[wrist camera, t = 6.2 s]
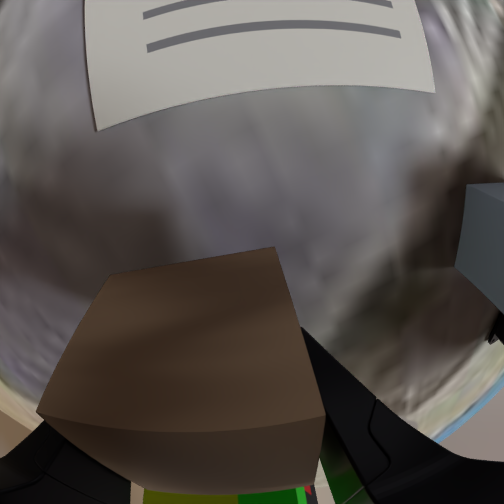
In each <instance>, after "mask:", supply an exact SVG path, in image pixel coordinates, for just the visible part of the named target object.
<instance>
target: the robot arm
mask: <svg viewBox="0 0 504 504" xmlns="http://www.w3.org/2000/svg"><path fill="white" fill-rule="evenodd" d="M300 328H301V332H302V335H303V338H304V341H305V345H306V348H307V351H308V355H309V358H310V362H311V365H312V368H313V372H314V375H315V379H316V382H317V385H318V389H319V392H320V396H321V399H322V403H323V407H324V410H325V414H326V418H325V425H324V432H323V438H322V444H321V450H320V456H319V458H320V461H321V464H322V467H323V470H324V473H325V475H326V478H327V481H328V484H329V487H330V490H331V493H332V495H333V498H334V501H335V504H504V462H498V461H487V460H477V459H470V458H466V457H462V456H459V455H457V454H454V453H452V452H451V451H449V450H447V449H446V448H444V447H442V446H440V445H439V444H438V443H436V442H435V441H433V440H431V439H430V438H428V437H427V436H425V435H424V434H422V433H421V432H419V431H418V430H416V429H415V428H413V427H412V426H410V425H409V424H407V423H406V422H405V421H404V420H402V419H401V418H400V417H398V416H397V415H396V414H395V413H394V412H393V411H391V410H390V409H389V408H388V407H387V406H386V405H385V404H383V403H382V402H381V401H380V400H379V399H376V396H375V395H374V394H372V393H371V392H370V391H369V390H368V389H367V388H366V387H365V386H364V385H363V384H362V383H361V382H360V381H358V380H357V379H356V378H355V377H354V376H353V375H352V374H351V373H350V372H349V371H348V370H347V369H346V368H345V367H343V366H342V365H341V364H340V363H339V362H338V361H337V360H336V359H335V358H334V357H333V356H332V355H331V354H330V353H329V352H328V351H327V350H326V349H324V348H323V347H322V346H321V345H320V344H319V343H318V342H317V341H316V340H315V339H314V338H313V337H312V336H311V335H310V334H309V333H308V332H307V331H306V330H305V329H304V328H302V327H300ZM497 340H500V341H501V342H502V344H503V345H504V314H503V313H502V312H501V314H500V316H499V319H498V321H497V323H496V325H495V327H494V329H493V332H492V334H491V336H490V338H489V340H488V343H489V344H490V345H491V344H492V343H494V342H496V341H497ZM130 491H131V481H130V480H128V479H126V478H124V477H123V476H121V475H119V474H117V473H116V472H114V471H112V470H111V469H109V468H108V467H106V466H104V465H103V464H101V463H100V462H98V461H97V460H95V459H94V458H92V457H91V456H89V455H88V454H86V453H85V452H84V451H82V450H81V449H79V448H78V447H77V446H75V445H74V444H73V443H71V442H70V441H69V440H68V439H66V438H65V437H64V436H63V435H61V434H60V433H59V432H58V431H56V430H55V429H54V428H53V427H52V426H51V425H49V424H48V423H47V422H46V421H45V420H44V421H43V422H42V423H41V424H40V425H39V426H38V427H37V428H36V429H35V430H34V431H33V432H32V433H31V434H30V435H28V437H26V438H25V439H24V440H23V441H22V442H21V443H19V444H18V445H17V446H16V447H15V448H14V449H13V450H11V451H10V452H9V453H8V454H7V455H6V456H4V457H2V458H0V504H130Z"/></svg>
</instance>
